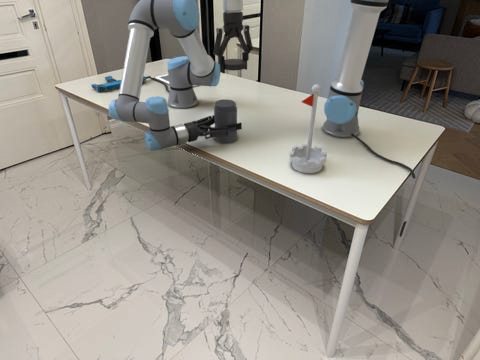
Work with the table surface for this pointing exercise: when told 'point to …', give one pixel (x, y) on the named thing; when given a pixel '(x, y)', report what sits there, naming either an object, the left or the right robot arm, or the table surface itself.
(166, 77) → the tablet
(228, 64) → the lid
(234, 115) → the jar
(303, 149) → the flag stand
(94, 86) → the submachine gun
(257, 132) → the table surface
